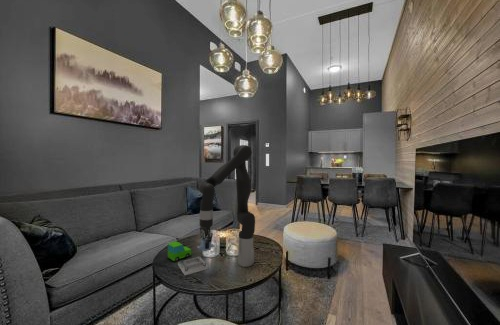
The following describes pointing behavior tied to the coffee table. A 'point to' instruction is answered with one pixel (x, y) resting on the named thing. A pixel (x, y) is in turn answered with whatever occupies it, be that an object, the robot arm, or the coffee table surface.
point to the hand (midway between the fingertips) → (205, 247)
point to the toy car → (177, 251)
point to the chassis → (192, 265)
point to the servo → (202, 246)
